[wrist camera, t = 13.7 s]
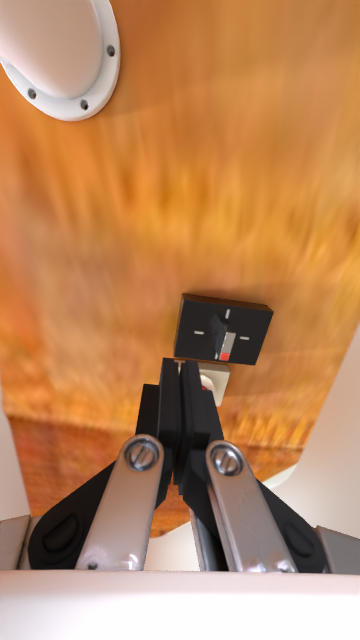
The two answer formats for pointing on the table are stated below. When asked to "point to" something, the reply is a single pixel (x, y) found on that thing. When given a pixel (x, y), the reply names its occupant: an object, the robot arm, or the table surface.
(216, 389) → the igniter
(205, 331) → the panel
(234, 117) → the table surface
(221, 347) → the hob knob
